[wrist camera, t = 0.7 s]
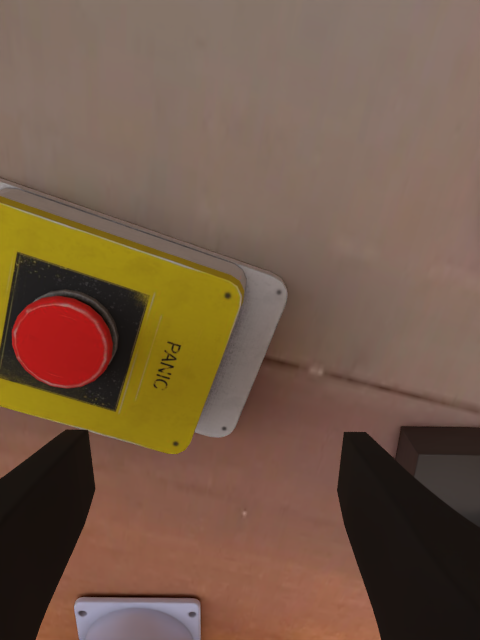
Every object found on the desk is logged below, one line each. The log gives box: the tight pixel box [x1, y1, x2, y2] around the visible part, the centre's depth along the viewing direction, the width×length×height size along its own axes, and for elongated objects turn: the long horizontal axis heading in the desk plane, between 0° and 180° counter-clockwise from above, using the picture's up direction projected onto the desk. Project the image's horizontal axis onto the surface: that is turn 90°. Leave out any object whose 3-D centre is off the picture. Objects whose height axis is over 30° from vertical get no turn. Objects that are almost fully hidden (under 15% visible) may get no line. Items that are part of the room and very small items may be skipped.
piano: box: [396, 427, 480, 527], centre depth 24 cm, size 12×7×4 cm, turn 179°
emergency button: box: [0, 178, 288, 454], centre depth 19 cm, size 9×4×15 cm
